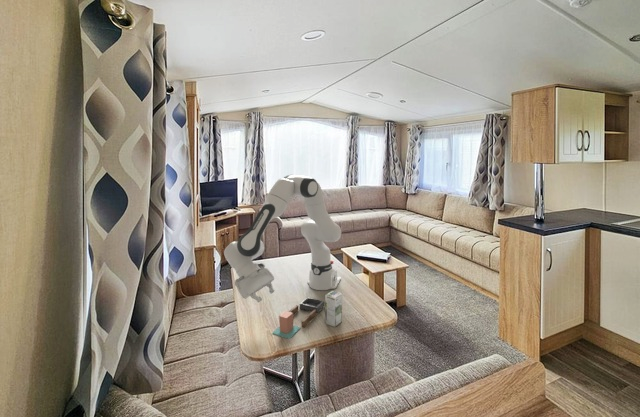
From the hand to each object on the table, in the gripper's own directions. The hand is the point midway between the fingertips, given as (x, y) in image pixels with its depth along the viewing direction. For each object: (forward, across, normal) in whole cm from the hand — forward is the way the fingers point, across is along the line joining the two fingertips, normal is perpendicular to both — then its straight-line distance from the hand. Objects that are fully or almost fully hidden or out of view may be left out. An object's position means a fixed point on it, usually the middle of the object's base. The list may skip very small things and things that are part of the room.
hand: (266, 296), depth 141 cm
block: (+17, 0, +2) cm, 17 cm away
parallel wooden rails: (+17, +11, +3) cm, 21 cm away
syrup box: (+29, +15, -8) cm, 34 cm away
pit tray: (+17, +23, +3) cm, 29 cm away
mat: (+17, 0, +3) cm, 18 cm away
